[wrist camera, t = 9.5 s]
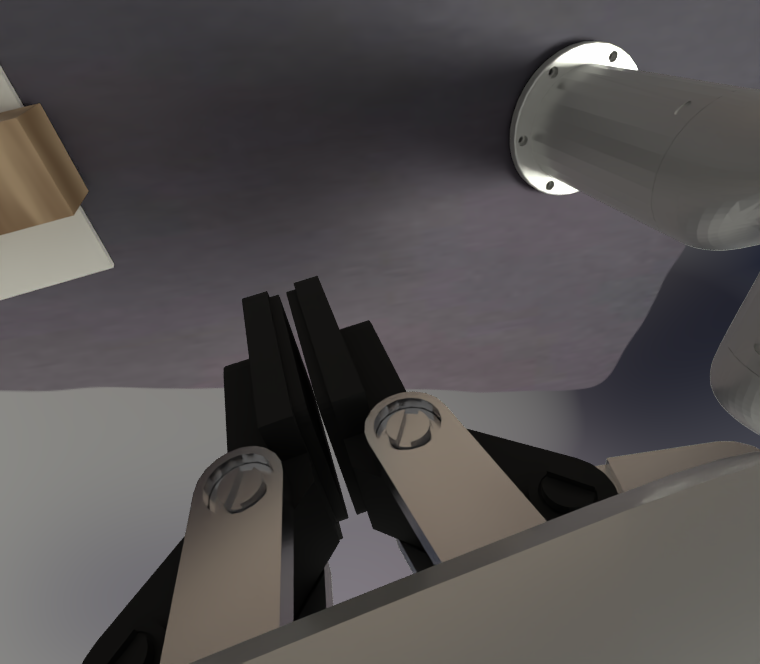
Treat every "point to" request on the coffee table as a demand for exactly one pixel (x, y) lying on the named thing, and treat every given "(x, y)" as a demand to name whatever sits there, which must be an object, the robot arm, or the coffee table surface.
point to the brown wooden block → (35, 172)
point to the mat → (47, 241)
